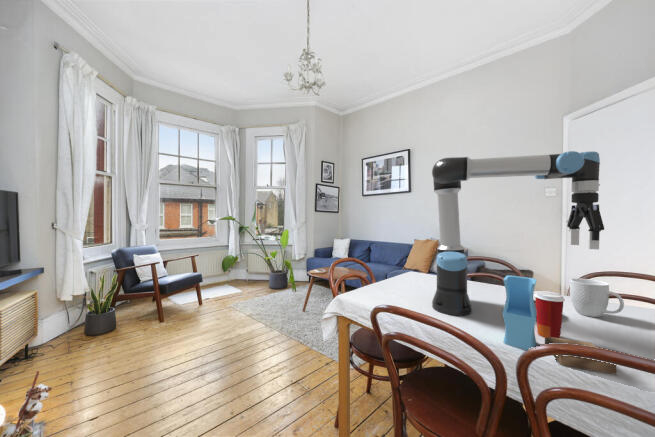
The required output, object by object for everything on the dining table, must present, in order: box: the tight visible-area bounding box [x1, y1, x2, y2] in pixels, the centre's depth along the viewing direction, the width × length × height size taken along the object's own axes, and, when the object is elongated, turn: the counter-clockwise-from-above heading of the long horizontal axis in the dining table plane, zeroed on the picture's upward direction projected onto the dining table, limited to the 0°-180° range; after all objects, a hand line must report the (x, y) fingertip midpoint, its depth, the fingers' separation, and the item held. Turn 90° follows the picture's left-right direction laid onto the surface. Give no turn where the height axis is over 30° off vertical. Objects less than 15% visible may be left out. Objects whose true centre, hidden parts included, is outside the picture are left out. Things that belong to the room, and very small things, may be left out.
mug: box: [569, 277, 625, 318], centre depth 102 cm, size 15×11×13 cm
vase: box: [502, 274, 537, 351], centre depth 81 cm, size 8×8×20 cm
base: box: [544, 337, 617, 375], centre depth 72 cm, size 11×11×3 cm
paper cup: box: [533, 290, 566, 339], centre depth 86 cm, size 8×8×14 cm
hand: (583, 247), depth 102 cm, fingers open, 13 cm apart
